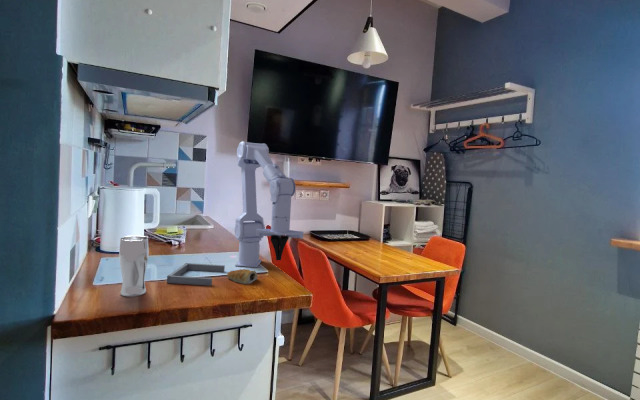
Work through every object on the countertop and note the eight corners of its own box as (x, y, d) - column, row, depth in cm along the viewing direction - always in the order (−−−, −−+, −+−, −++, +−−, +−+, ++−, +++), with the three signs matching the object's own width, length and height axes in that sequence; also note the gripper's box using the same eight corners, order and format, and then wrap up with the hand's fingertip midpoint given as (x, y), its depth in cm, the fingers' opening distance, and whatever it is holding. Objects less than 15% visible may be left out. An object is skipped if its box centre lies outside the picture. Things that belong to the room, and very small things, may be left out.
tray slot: (185, 268, 122) (186, 263, 122) (224, 271, 122) (224, 265, 122) (166, 282, 107) (167, 276, 107) (210, 285, 107) (211, 279, 107)
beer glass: (152, 289, 101) (153, 236, 100) (139, 298, 94) (141, 241, 93) (127, 287, 101) (128, 234, 100) (113, 296, 94) (113, 239, 93)
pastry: (222, 280, 113) (222, 268, 113) (235, 275, 119) (235, 264, 119) (247, 286, 110) (248, 273, 109) (259, 280, 116) (260, 268, 116)
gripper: (255, 217, 109) (253, 261, 110) (303, 219, 109) (301, 264, 110) (259, 214, 116) (257, 255, 117) (304, 216, 116) (302, 258, 117)
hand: (278, 259), depth 114 cm, fingers closed
